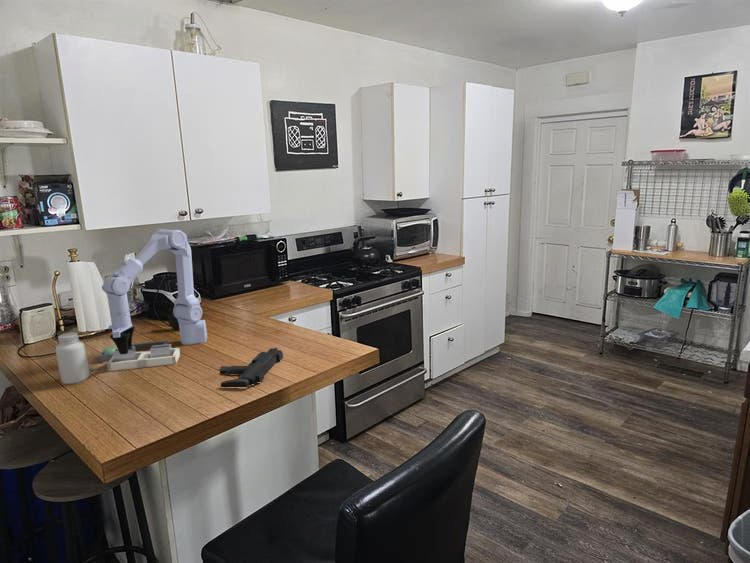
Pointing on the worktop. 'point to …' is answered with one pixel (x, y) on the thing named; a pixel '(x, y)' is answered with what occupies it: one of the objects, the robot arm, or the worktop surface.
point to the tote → (149, 344)
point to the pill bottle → (72, 359)
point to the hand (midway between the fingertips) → (125, 351)
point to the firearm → (252, 369)
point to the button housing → (104, 357)
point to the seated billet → (161, 351)
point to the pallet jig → (144, 361)
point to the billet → (125, 355)
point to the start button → (109, 350)
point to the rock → (173, 319)
